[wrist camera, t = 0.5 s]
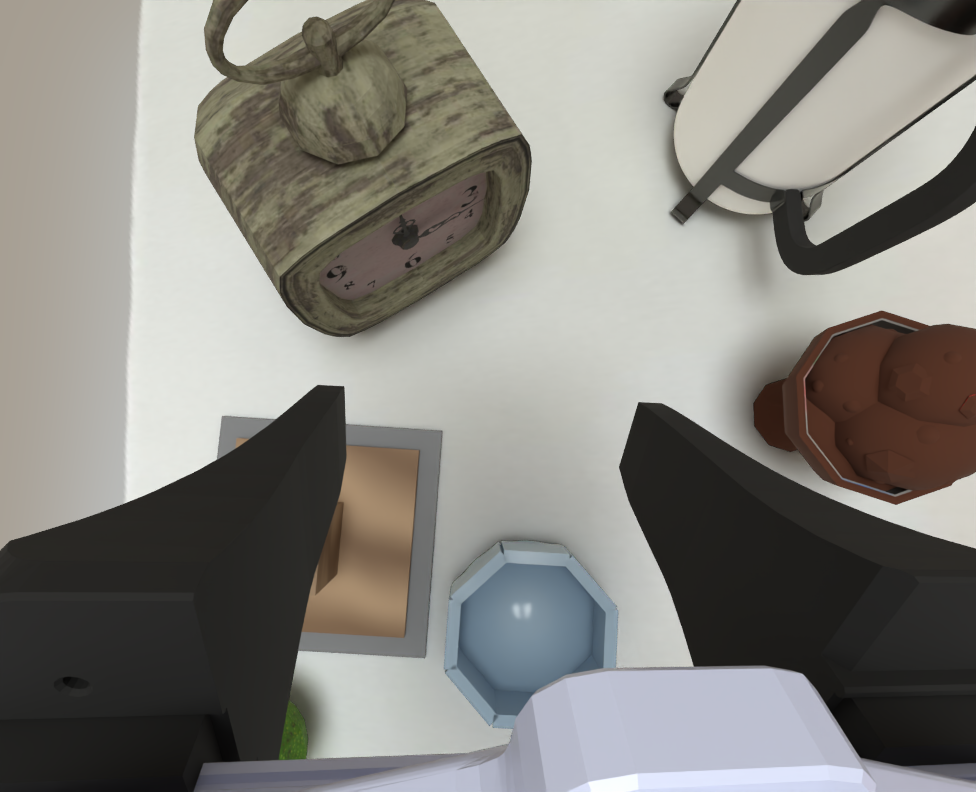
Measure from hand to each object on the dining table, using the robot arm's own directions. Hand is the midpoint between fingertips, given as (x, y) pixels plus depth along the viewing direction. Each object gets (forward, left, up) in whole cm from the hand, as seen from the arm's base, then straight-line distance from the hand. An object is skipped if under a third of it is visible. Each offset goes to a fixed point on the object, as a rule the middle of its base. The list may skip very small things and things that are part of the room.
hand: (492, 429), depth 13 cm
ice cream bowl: (+3, -23, -26) cm, 35 cm away
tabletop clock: (+13, +7, -26) cm, 30 cm away
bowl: (-13, -4, -25) cm, 29 cm away
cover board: (-8, +11, -25) cm, 28 cm away
